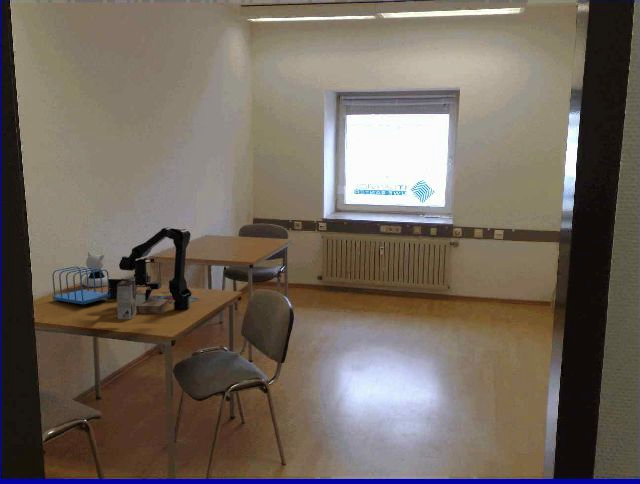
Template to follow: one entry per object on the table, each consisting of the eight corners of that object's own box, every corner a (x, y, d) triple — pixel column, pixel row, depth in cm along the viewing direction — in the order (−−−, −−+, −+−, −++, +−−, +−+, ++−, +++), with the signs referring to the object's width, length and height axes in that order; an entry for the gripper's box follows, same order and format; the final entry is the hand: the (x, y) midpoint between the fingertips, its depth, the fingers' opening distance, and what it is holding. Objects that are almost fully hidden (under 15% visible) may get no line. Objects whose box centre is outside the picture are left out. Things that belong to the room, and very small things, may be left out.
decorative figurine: (115, 283, 327) (114, 249, 324) (102, 288, 313) (101, 253, 310) (91, 282, 329) (90, 248, 326) (77, 287, 315) (75, 252, 312)
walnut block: (168, 306, 277) (168, 299, 276) (160, 313, 264) (160, 306, 263) (148, 305, 277) (148, 299, 276) (139, 313, 264) (139, 305, 264)
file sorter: (52, 300, 288) (49, 270, 286) (82, 293, 302) (79, 265, 300) (82, 304, 275) (80, 273, 273) (112, 297, 289) (110, 268, 287)
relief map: (201, 300, 291) (201, 297, 291) (177, 306, 279) (177, 302, 279) (170, 293, 306) (170, 289, 306) (146, 298, 294) (146, 294, 294)
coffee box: (122, 313, 262) (121, 280, 260) (137, 313, 263) (135, 280, 261) (117, 319, 253) (115, 284, 251) (131, 319, 254) (130, 284, 252)
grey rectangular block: (106, 299, 287) (107, 278, 288) (107, 299, 290) (108, 279, 292) (128, 299, 288) (129, 279, 289) (129, 299, 292) (130, 279, 293)
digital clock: (129, 288, 313) (129, 272, 312) (141, 290, 311) (140, 274, 309) (112, 294, 300) (111, 277, 299) (124, 295, 298) (123, 278, 296)
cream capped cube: (149, 303, 282) (148, 290, 281) (145, 306, 276) (144, 293, 275) (138, 303, 282) (137, 290, 281) (134, 306, 276) (134, 293, 276)
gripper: (164, 268, 284) (165, 298, 287) (127, 267, 285) (129, 297, 287) (157, 272, 273) (158, 304, 276) (119, 272, 274) (120, 303, 276)
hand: (141, 302), depth 279 cm, fingers closed on cream capped cube, 5 cm apart
